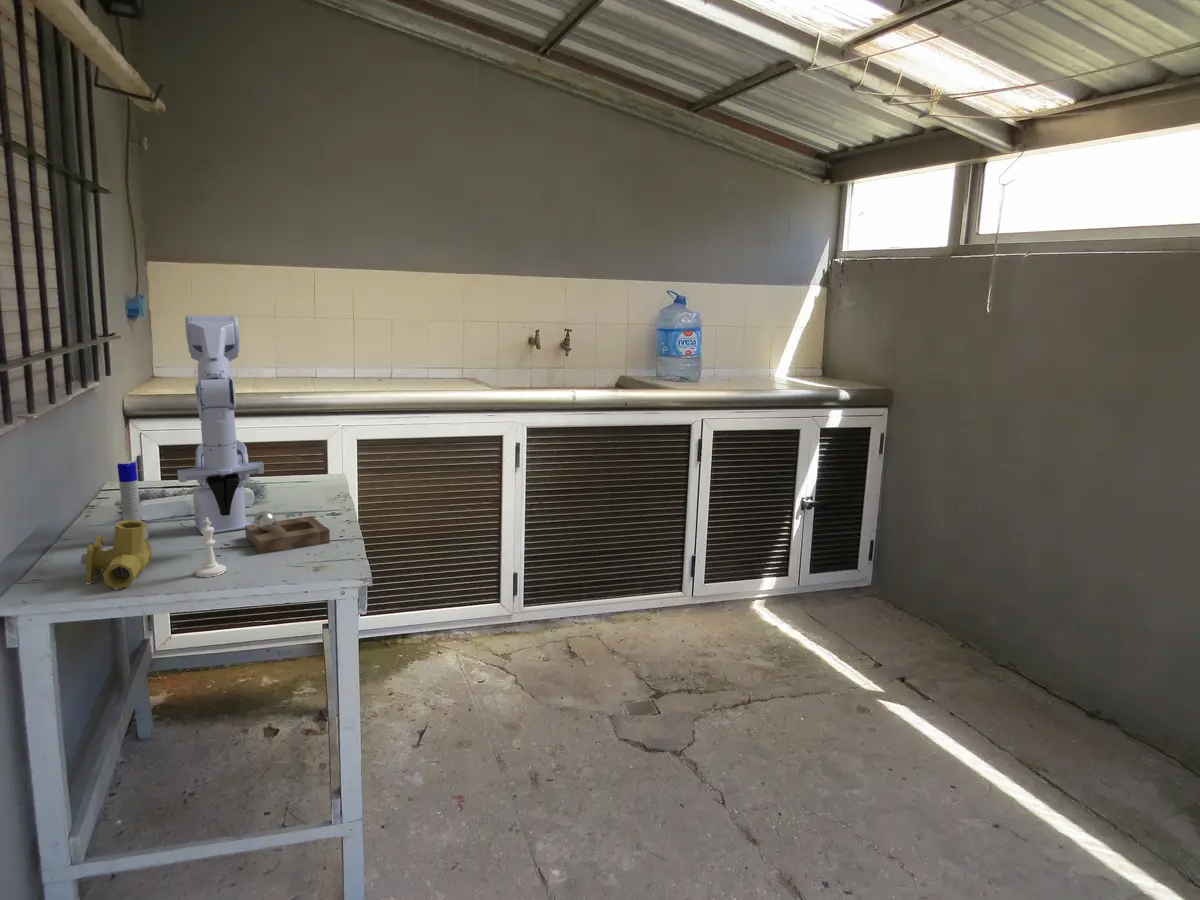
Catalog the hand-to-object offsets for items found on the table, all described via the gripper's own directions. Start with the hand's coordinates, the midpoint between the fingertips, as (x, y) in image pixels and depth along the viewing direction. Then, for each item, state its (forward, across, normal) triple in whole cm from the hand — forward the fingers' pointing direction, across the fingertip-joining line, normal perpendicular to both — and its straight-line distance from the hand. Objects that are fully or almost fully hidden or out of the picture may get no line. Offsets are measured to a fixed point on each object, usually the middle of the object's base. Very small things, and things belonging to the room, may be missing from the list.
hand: (225, 514), depth 153 cm
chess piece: (+7, -5, -12) cm, 15 cm away
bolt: (+7, -14, +16) cm, 22 cm away
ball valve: (+7, -19, -6) cm, 21 cm away
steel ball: (+2, +7, 0) cm, 7 cm away
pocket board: (+7, +11, 0) cm, 13 cm away
